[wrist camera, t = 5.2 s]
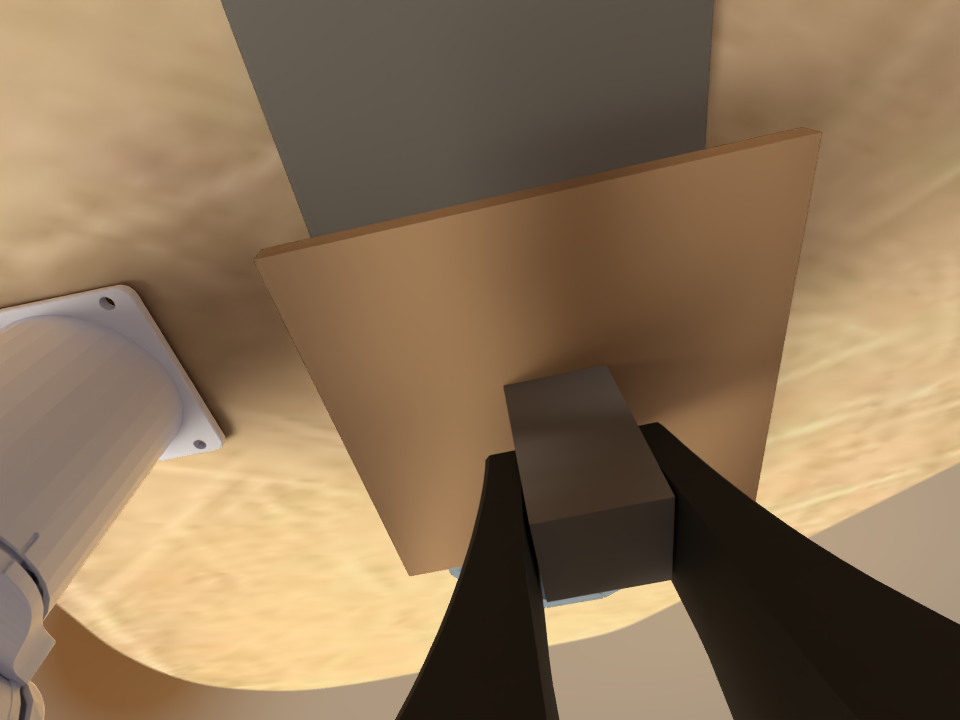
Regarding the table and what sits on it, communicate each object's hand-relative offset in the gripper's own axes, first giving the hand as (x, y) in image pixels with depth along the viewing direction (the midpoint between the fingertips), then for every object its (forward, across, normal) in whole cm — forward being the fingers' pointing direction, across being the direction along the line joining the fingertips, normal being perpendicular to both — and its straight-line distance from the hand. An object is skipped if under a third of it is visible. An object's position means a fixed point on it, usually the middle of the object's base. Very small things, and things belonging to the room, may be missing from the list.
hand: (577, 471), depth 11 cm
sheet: (+2, 0, 0) cm, 2 cm away
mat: (+10, 0, -7) cm, 12 cm away
